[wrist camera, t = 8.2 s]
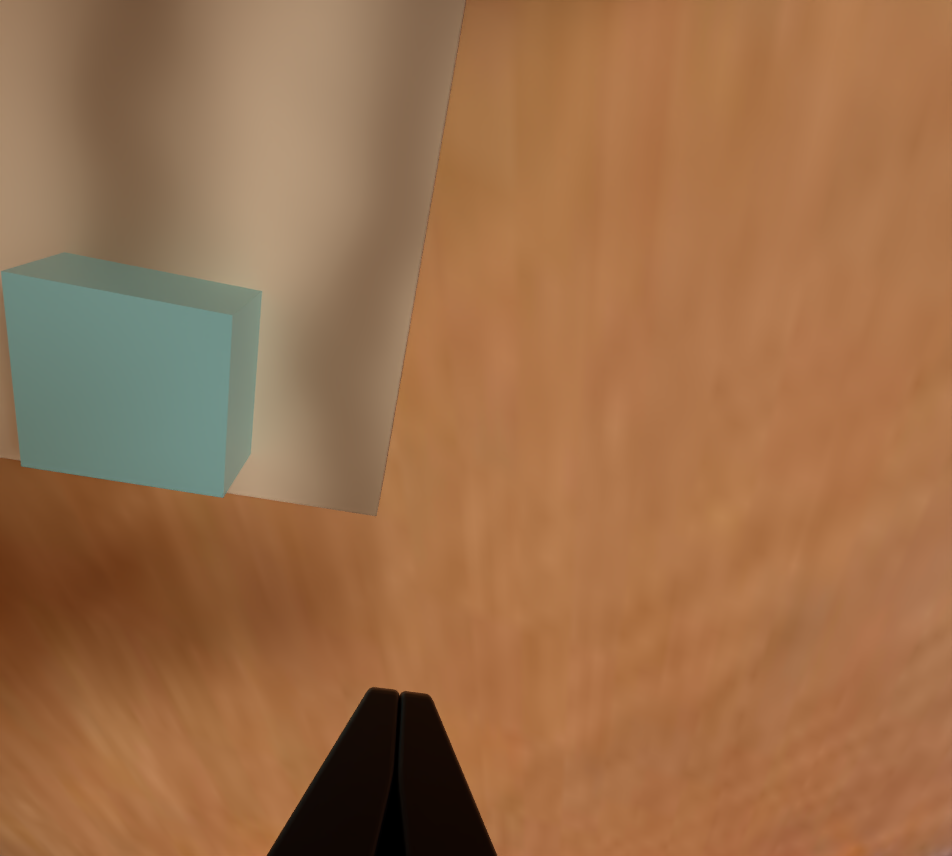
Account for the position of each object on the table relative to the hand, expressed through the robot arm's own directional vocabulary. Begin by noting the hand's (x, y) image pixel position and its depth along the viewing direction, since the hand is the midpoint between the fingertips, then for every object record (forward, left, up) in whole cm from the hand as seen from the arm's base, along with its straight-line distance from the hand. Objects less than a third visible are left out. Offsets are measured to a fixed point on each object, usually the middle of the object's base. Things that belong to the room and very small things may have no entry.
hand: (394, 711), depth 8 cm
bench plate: (+8, -4, -13) cm, 15 cm away
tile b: (+7, 0, -11) cm, 13 cm away
